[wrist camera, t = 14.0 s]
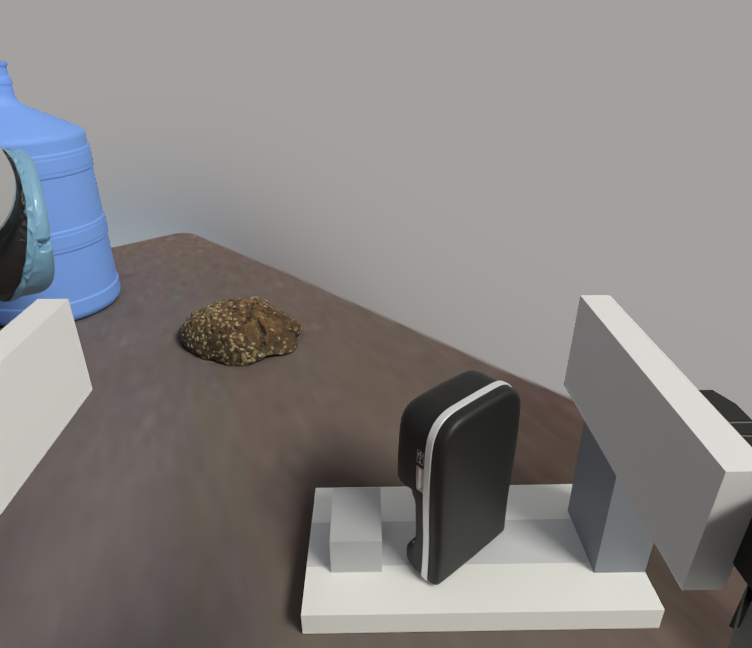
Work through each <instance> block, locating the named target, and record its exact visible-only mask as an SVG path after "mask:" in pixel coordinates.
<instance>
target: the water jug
mask: <svg viewBox="0 0 752 648" xmlns="http://www.w3.org/2000/svg"><path fill="white" fill-rule="evenodd" d="M6 67H7V62H4V61H0V148H8V149H10V150H21V151H24V152H26V153H27V154H28V155H29V156H30V157H31V158H32V160H33V162H34V164H35V166H36V169H37V173H38V176H39V180H40V183H41V187H42V191H43V196H44V200H45V205H46V210H47V215H48V220H49V226H50V236H51V238H50V241H51V243H52V247H53V254H54V265H55V274H54V280H53V282H52V284H51V285H50V287H49V288H47V289H46V290H45V291H43V292H40V293H37V294H32V295H27V296H22V297H19V298H18V299H16V300H13V301H11V302H2V301H0V325H2V326H6V325H8V324H9V323H10V322H11V321H12V320H13V319H15V318H16V317H17V316H18V315H19V314H21V313H22V312H23V311H24V310H25V309H26V308H28V307H29V306H30V305H31V304H32V303H34V302H35V301H36V300H37V299H68V300H69V303H70V307H71V311H72V314H73V318H74V321H75V320H78V319H81V318H84V317H87V316H90V315H92V314H94V313H97V312H99V311H101V310H102V309H104V308H106V307H107V306H109V305H110V304H111V303H113V302H114V301H115V300H116V298H117V297H118V295H119V293H120V290H121V285H120V281H119V276H118V273H117V272H116V268H115V264H114V259H113V255H112V250H111V246H110V241H109V237H108V226H107V222H106V217H105V214H104V211H103V210H102V205H101V201H100V197H99V192H98V187H97V182H96V178H95V174H94V170H93V158H92V154H91V149H90V147H89V143H88V142H87V138H86V133H85V131H84V129H83V128H82V127H80V126H78V125H75V124H73V123H71V122H68V121H65V120H62V119H60V118H57V117H55V116H52V115H50V114H47V113H44V112H41V111H39V110H37V109H34V108H31V107H29V106H26V105H23V104H22V103H20V102H19V101H18V100H17V98H16V97H15V95H14V91H13V87H12V80H11V78H10V77H9V75H8V72H7V68H6Z"/></svg>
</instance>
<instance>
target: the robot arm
mask: <svg viewBox="0 0 752 648" xmlns="http://www.w3.org/2000/svg"><path fill="white" fill-rule="evenodd" d="M50 238H51V236H50V226H49V220H48V215H47V210H46V205H45V200H44V196H43V191H42V187H41V183H40V180H39V176H38V173H37V169H36V166H35V164H34V162H33V160H32V158H31V157H30V156H29V155H28V154H27V153H26V152H24V151H21V150H10V149H8V148H0V301H2V302H11V301H13V300H16V299H18V298H19V297H22V296H27V295H32V294H37V293H40V292H43V291H45V290H46V289H47V288H49V287H50V285H51V284H52V282H53V280H54V274H55V265H54V254H53V247H52V243H51V241H50ZM564 386H565V387H566V389H567V391H568V393H569V394H570V396H571V398H572V400H573V401H574V403H575V405H576V406H577V408H578V410H579V412H580V413H581V415H582V417H583V419H584V420H585V422H586V424H587V426H588V427H589V429H590V431H591V433H592V434H593V436H594V438H595V440H596V441H597V443H598V445H599V447H600V448H601V450H602V452H603V454H604V455H605V457H606V459H607V461H608V462H609V464H610V466H611V468H612V469H613V471H614V473H615V475H616V476H617V478H618V480H619V482H620V483H621V485H622V487H623V489H624V490H625V492H626V494H627V495H628V497H629V499H630V501H631V502H632V504H633V506H634V508H635V509H636V511H637V513H638V515H639V516H640V518H641V520H642V522H643V523H644V525H645V527H646V529H647V530H648V532H649V534H650V536H651V537H652V539H653V541H654V543H655V544H656V546H657V548H658V550H659V551H660V553H661V555H662V557H663V558H664V560H665V562H666V564H667V565H668V567H669V569H670V571H671V572H672V574H673V576H674V577H675V579H676V581H677V583H678V584H679V586H680V588H681V590H716V589H724V588H725V586H726V583H727V581H728V578H729V576H730V574H731V571H732V569H733V567H734V566H735V567H736V568H737V570H738V571H739V573H740V574H741V576H742V577H743V578H744V580H745V581H746V583H747V584H748V585H747V587H746V589H745V592H744V594H743V596H742V598H741V601H740V603H739V605H738V607H737V610H736V612H735V614H734V616H733V618H732V621H731V623H730V625H729V626H730V627H731V628H733V633H732V636H731V640H730V644H729V648H752V420H751V419H750V418H749V417H748V416H747V415H746V414H745V413H744V412H743V411H742V410H741V409H740V408H739V407H738V406H737V405H736V404H735V403H733V402H732V401H730V400H728V399H727V398H725V397H723V396H722V395H720V394H718V393H716V392H715V391H713V390H698V389H697V388H696V387H695V386H694V385H693V384H692V383H691V382H690V381H689V380H688V379H687V377H686V376H685V375H684V374H683V373H682V372H681V371H680V370H679V369H678V368H677V367H676V366H675V365H674V364H673V363H672V361H671V360H670V359H669V358H668V357H667V356H666V355H665V354H664V353H663V352H662V351H661V350H660V349H659V348H658V346H657V345H656V344H655V343H654V342H653V341H652V340H651V339H650V338H649V337H648V336H647V335H646V334H645V333H644V332H643V330H642V329H640V327H639V326H638V325H637V324H636V323H635V322H634V321H633V320H632V319H631V318H630V317H629V315H628V314H627V313H626V312H625V311H624V310H623V309H622V308H621V307H620V306H619V305H618V304H617V303H616V302H615V300H614V299H613V298H612V297H611V296H610V295H589V296H588V295H581V296H580V301H579V306H578V312H577V317H576V323H575V328H574V333H573V339H572V344H571V350H570V355H569V360H568V365H567V371H566V376H565V381H564ZM92 390H93V389H92V386H91V382H90V378H89V374H88V371H87V367H86V363H85V359H84V356H83V352H82V348H81V344H80V341H79V337H78V333H77V329H76V326H75V322H74V318H73V314H72V311H71V307H70V303H69V300H68V299H37V300H36V301H35V302H34V303H32V304H31V305H30V306H29V307H28V308H26V309H25V310H24V311H23V312H22V313H21V314H19V315H18V316H17V317H16V318H15V319H13V320H12V321H11V322H10V323H9V324H8V325H6V326H5V327H4V328H3V329H2V330H0V515H1V513H2V512H3V511H4V509H5V508H6V506H7V505H8V504H9V502H10V501H11V500H12V498H13V497H14V496H15V494H16V493H17V492H18V490H19V489H20V487H21V486H22V485H23V483H24V482H25V481H26V479H27V478H28V477H29V475H30V474H31V473H32V471H33V470H34V468H35V467H36V466H37V464H38V463H39V462H40V460H41V459H42V458H43V456H44V455H45V453H46V452H47V451H48V449H49V448H50V447H51V445H52V444H53V443H54V441H55V440H56V439H57V437H58V436H59V434H60V433H61V432H62V430H63V429H64V428H65V426H66V425H67V424H68V422H69V421H70V419H71V418H72V417H73V415H74V414H75V413H76V411H77V410H78V409H79V407H80V406H81V405H82V403H83V402H84V400H85V399H86V398H87V396H88V395H89V394H90V392H91V391H92Z"/></svg>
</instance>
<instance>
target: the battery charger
mask: <svg viewBox="0 0 752 648" xmlns="http://www.w3.org/2000/svg"><path fill="white" fill-rule="evenodd" d="M519 415H520V397H519V394H518V392H517V391H516V390H515V389H514V388H512V387H511V385H509V384H508V383H506V382H504V381H498V380H496V379H494V378H492V377H490V376H488V375H486V374H484V373H481V372H478V371H467V372H464V373H461V374H459V375H457V376H455V377H453V378H451V379H449V380H447V381H445V382H443V383H441V384H440V385H438V386H436V387H434V388H432V389H431V390H429V391H427V392H425V393H423V394H422V395H420V396H419V397H417V398H416V399H414V400H413V401H411V402H410V403H409V404H408V405H407V407H406V409H405V410H404V412H403V415H402V418H401V424H400V434H399V450H398V476H399V478H400V480H401V481H402V482H403V483H404V484H405V485H406V486H408V487H409V488H410V489H412V494H413V496H414V499H415V504H416V537H414V538H413V539H412V540H411V541H410V542H409V543H408V545H407V552H406V553H407V558H408V560H409V562H410V563H411V564H412V566H413V567H414V568H415V569H416V570H417V571H418V572H419V573H420V574H421V576H422V578H424V579H425V580H426V581H429V582H431V583H432V584H434V585H438V584H440V583H441V582H443V581H444V580H445V579H446V578H448V577H449V576H450V575H451V574H453V573H454V572H455V571H456V570H458V569H459V568H460V567H461V566H462V565H464V564H465V563H466V562H467V561H469V560H470V559H471V558H472V557H473V556H475V555H476V554H477V553H478V552H479V551H480V550H482V549H483V548H484V547H485V546H486V545H488V544H489V543H490V542H491V541H492V540H493V539H495V538H496V537H497V536H498V535H499V534H500V533H501V532H503V530H504V527H505V517H506V508H507V500H508V493H509V487H510V481H511V475H512V468H513V462H514V456H515V449H516V441H517V433H518V425H519Z"/></svg>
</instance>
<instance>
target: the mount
mask: <svg viewBox="0 0 752 648" xmlns="http://www.w3.org/2000/svg"><path fill="white" fill-rule="evenodd" d="M414 537H416V504H415V499H414V496H413V494H412V489H410V488H409V487H341V488H316V490H315V498H314V507H313V516H312V524H311V533H310V541H309V550H308V559H307V567H306V576H305V585H304V593H303V602H302V610H301V622H302V633H303V634H315V633H376V632H436V631H497V630H558V629H619V628H659V626H660V623H661V620H662V617H663V614H664V610H665V609H664V608H663V606H662V604H661V602H660V600H659V598H658V596H657V594H656V592H655V590H654V588H653V587H652V585H651V583H650V581H649V579H648V577H647V575H646V573H645V570H646V567H647V563H648V560H649V556H650V553H651V549H652V546H653V542H654V541H653V539H652V537H651V536H650V534H649V532H648V530H647V529H646V527H645V525H644V523H643V522H642V520H641V518H640V516H639V515H638V513H637V511H636V509H635V508H634V506H633V504H632V502H631V501H630V499H629V497H628V495H627V494H626V492H625V490H624V489H623V487H622V485H621V483H620V482H619V480H618V478H617V476H616V475H615V473H614V471H613V469H612V468H611V466H610V464H609V462H608V461H607V459H606V457H605V455H604V454H603V452H602V450H601V448H600V447H599V445H598V443H597V441H596V440H595V438H594V436H593V434H592V433H591V431H590V429H589V427H588V426H587V424H586V422H585V421H584V426H583V432H582V437H581V442H580V448H579V453H578V458H577V463H576V469H575V474H574V479H573V484H554V485H510V487H509V493H508V500H507V508H506V517H505V527H504V530H503V532H501V533H500V534H499V535H498V536H497V537H496V538H495V539H493V540H492V541H491V542H490V543H489V544H488V545H486V546H485V547H484V548H483V549H482V550H480V551H479V552H478V553H477V554H476V555H475V556H473V557H472V558H471V559H470V560H469V561H467V562H466V563H465V564H464V565H462V566H461V567H460V568H459V569H458V570H456V571H455V572H454V573H453V574H451V575H450V576H449V577H448V578H446V579H445V580H444V581H443V582H441V583H440V584H438V585H434V584H432V583H431V582H429V581H426V580H425V579H424V578H422V576H421V574H420V573H419V572H418V571H417V570H416V569H415V568H414V567H413V566H412V564H411V563H410V562H409V560H408V558H407V553H406V552H407V545H408V543H409V542H410V541H411V540H412V539H413V538H414Z"/></svg>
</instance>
